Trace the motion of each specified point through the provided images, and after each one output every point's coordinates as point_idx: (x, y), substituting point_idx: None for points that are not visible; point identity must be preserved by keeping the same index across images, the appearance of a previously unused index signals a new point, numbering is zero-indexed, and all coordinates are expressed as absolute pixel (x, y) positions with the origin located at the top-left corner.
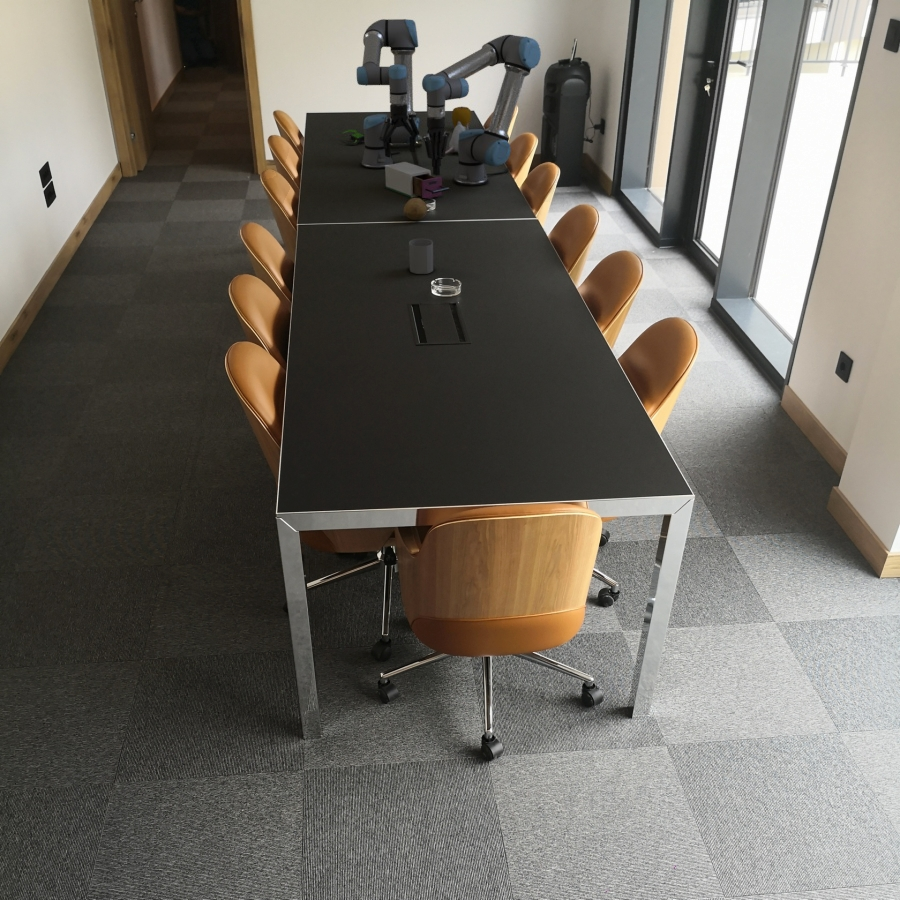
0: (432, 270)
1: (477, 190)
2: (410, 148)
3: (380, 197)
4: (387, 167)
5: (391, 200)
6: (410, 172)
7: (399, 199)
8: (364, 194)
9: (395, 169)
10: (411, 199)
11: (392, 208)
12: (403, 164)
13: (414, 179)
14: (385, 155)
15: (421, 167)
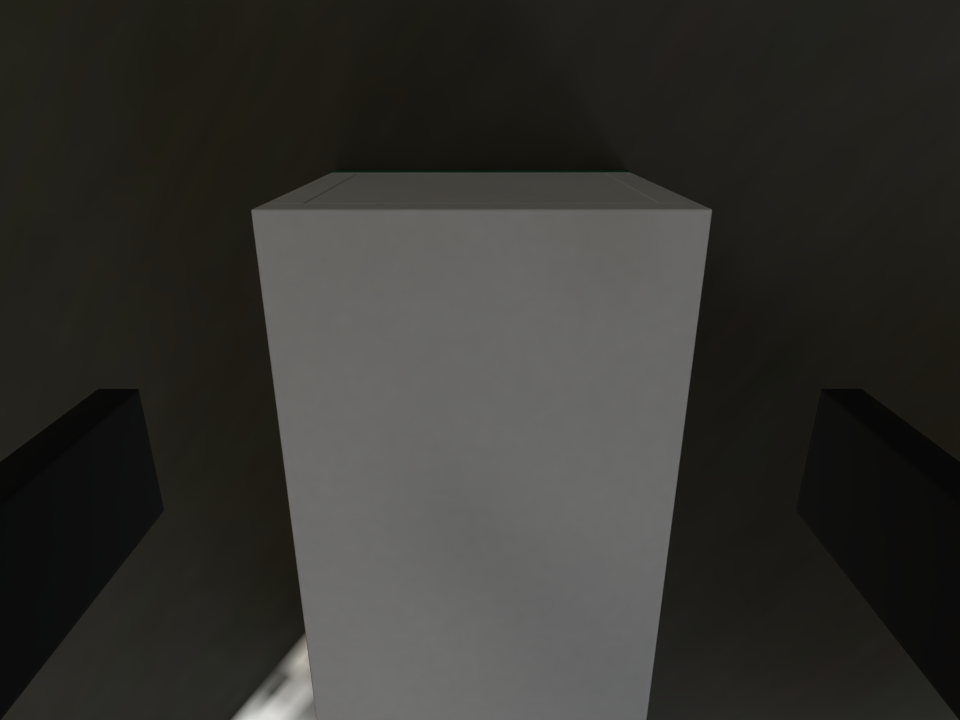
0: None
1: (923, 713)
2: (853, 458)
3: None
4: (264, 276)
5: (176, 527)
6: (376, 694)
7: (253, 545)
8: (12, 215)
9: (287, 483)
10: None
11: (86, 676)
12: (562, 339)
13: None
14: (89, 408)
15: (650, 611)
